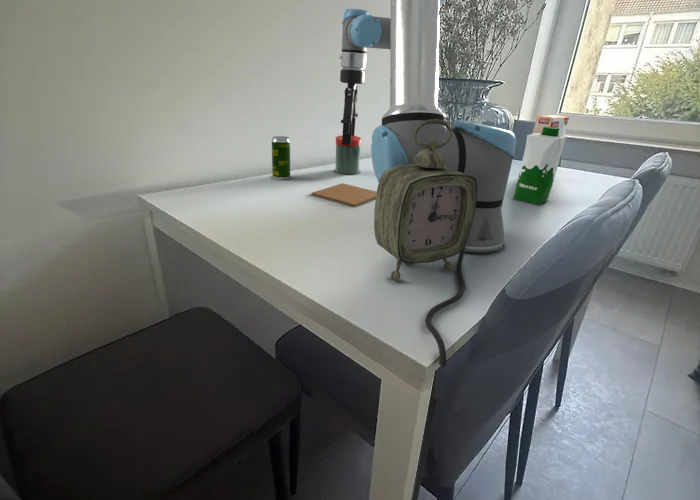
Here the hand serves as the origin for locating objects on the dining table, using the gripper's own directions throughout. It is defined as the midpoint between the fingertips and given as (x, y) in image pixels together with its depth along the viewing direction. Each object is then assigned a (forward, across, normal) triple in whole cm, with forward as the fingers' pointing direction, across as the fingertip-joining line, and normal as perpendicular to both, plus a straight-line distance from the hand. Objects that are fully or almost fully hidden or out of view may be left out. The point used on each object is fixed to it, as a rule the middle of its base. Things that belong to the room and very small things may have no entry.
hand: (348, 140), depth 128 cm
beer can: (+10, +16, -18) cm, 26 cm away
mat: (+9, +28, +3) cm, 30 cm away
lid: (-1, +2, 0) cm, 2 cm away
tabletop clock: (+7, +70, +19) cm, 73 cm away
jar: (+10, +2, 0) cm, 10 cm away
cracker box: (+10, -15, +68) cm, 71 cm away
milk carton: (+9, +18, +55) cm, 59 cm away
